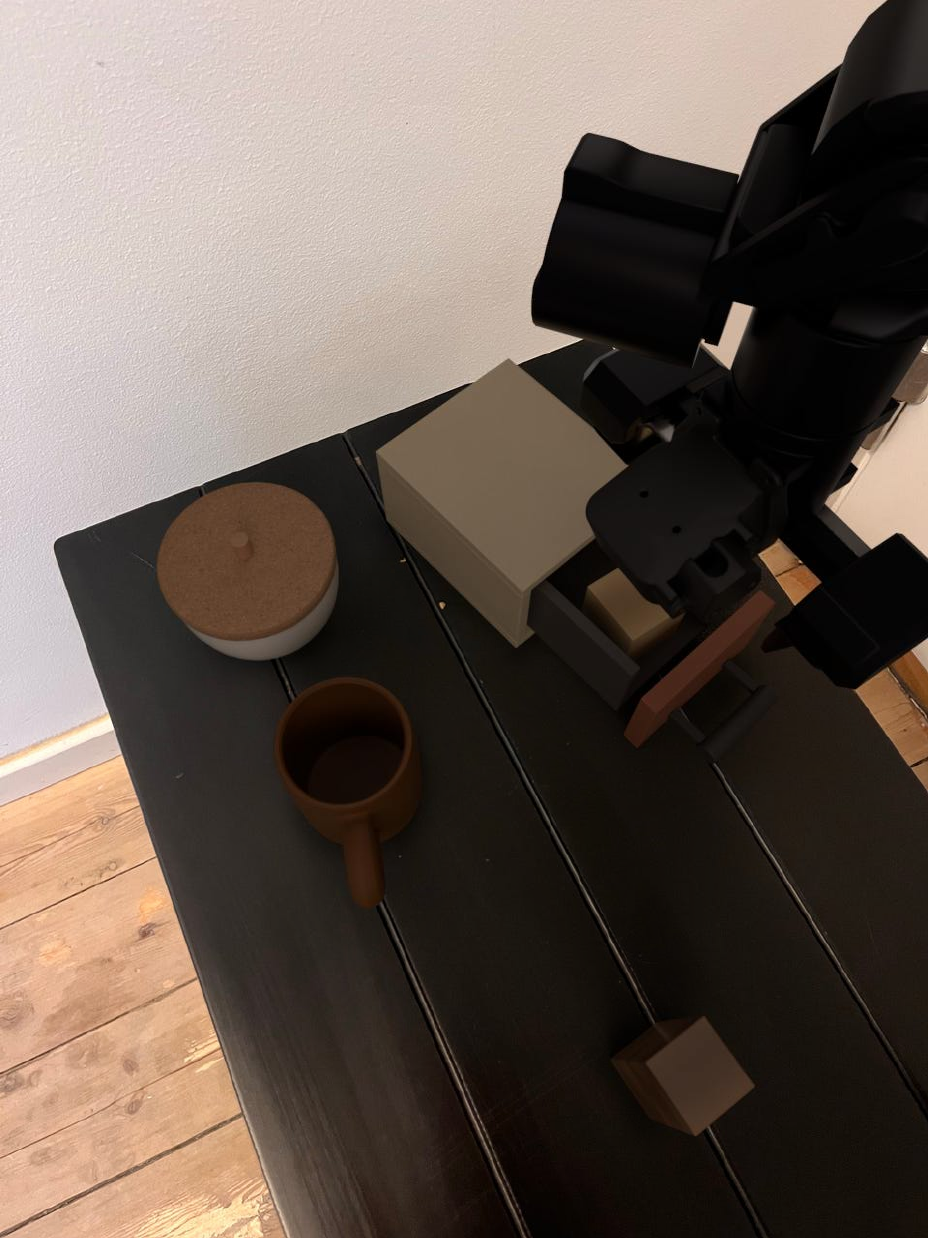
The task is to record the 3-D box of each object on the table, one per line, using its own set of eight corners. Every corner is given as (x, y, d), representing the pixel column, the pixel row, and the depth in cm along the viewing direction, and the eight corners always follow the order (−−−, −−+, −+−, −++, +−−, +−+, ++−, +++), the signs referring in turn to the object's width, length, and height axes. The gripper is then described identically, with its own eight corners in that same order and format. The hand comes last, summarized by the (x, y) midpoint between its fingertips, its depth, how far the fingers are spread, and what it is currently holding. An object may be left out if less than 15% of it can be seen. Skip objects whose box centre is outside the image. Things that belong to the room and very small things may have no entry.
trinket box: (182, 565, 61) (136, 488, 53) (332, 528, 62) (310, 447, 54) (205, 703, 57) (159, 642, 48) (366, 660, 58) (348, 594, 49)
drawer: (792, 687, 56) (829, 647, 50) (683, 794, 53) (709, 764, 47) (608, 525, 61) (622, 472, 56) (499, 614, 58) (502, 567, 53)
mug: (447, 912, 51) (443, 884, 42) (317, 938, 50) (286, 916, 42) (412, 719, 56) (402, 661, 48) (294, 742, 55) (263, 687, 47)
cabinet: (635, 548, 62) (658, 481, 54) (516, 648, 58) (522, 591, 51) (504, 433, 66) (508, 357, 59) (386, 520, 63) (375, 451, 55)
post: (698, 1079, 47) (756, 1086, 37) (649, 1119, 46) (695, 1137, 37) (658, 1021, 48) (704, 1014, 39) (609, 1059, 47) (644, 1062, 38)
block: (674, 634, 56) (690, 603, 52) (621, 670, 55) (632, 640, 51) (631, 585, 58) (643, 551, 54) (579, 618, 57) (587, 586, 53)
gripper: (489, 315, 34) (486, 530, 48) (828, 683, 27) (709, 809, 41) (708, 204, 37) (644, 438, 51) (1069, 513, 30) (880, 686, 44)
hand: (710, 581), depth 46 cm, fingers open, 9 cm apart
